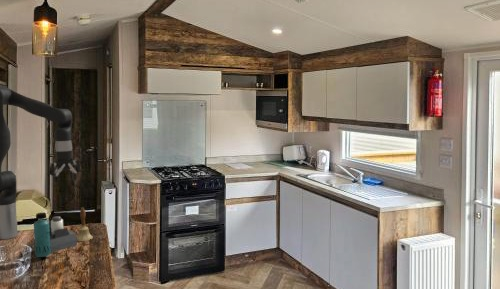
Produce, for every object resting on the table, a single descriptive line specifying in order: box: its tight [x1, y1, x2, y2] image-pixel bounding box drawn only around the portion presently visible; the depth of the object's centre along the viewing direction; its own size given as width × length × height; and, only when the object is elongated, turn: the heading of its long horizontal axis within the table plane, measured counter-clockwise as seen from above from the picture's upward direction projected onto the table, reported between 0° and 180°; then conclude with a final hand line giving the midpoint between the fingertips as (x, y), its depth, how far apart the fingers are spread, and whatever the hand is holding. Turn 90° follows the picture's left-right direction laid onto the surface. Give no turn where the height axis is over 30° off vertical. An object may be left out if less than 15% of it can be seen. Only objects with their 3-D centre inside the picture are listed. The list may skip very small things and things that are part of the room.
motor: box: [49, 226, 78, 253], centre depth 200 cm, size 17×8×10 cm, turn 138°
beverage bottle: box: [33, 212, 52, 258], centre depth 188 cm, size 6×7×20 cm
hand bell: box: [76, 206, 94, 243], centre depth 213 cm, size 8×8×16 cm
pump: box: [50, 215, 64, 237], centre depth 200 cm, size 5×5×8 cm
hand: (65, 182), depth 213 cm, fingers open, 8 cm apart
